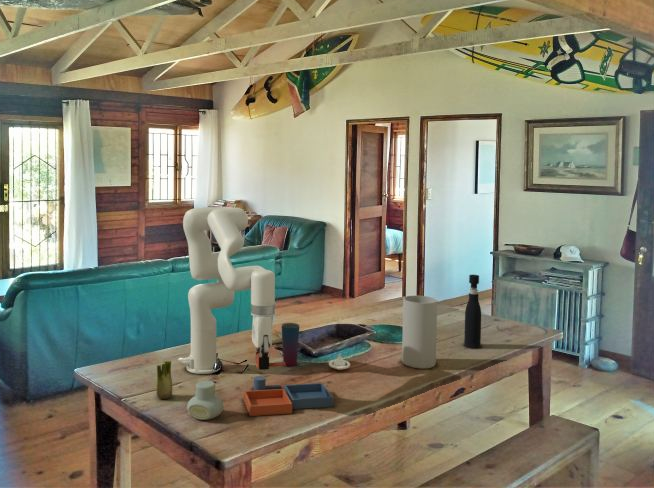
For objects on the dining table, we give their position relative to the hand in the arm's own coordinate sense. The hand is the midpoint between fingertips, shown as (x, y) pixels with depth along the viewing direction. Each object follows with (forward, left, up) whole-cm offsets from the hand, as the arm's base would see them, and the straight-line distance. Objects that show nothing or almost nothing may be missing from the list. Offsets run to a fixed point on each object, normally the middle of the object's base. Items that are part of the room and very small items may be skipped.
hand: (262, 366), depth 190 cm
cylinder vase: (+66, +29, -13) cm, 74 cm away
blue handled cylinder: (+4, +13, -13) cm, 19 cm away
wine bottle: (+98, +46, -13) cm, 109 cm away
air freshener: (-19, -5, -13) cm, 23 cm away
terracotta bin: (+1, -1, -13) cm, 13 cm away
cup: (+17, +36, -13) cm, 42 cm away
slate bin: (+15, +2, -13) cm, 20 cm away
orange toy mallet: (+3, 0, 0) cm, 3 cm away
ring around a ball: (+34, +28, -13) cm, 46 cm away
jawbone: (+15, +66, -13) cm, 69 cm away
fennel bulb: (-31, +11, -13) cm, 35 cm away
